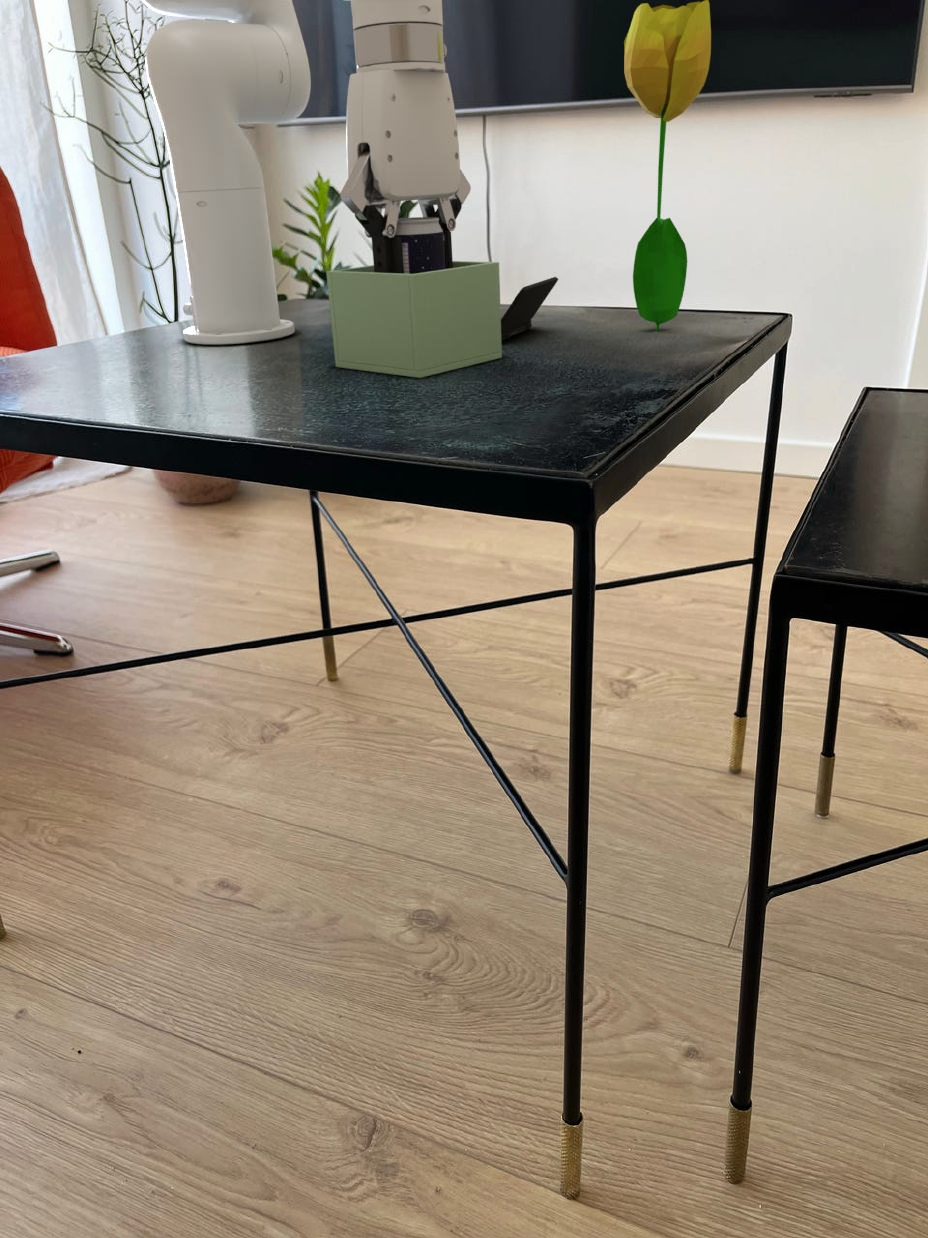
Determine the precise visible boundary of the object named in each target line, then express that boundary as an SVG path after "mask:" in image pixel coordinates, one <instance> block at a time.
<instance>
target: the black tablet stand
mask: <svg viewBox="0 0 928 1238" xmlns="http://www.w3.org/2000/svg"><path fill="white" fill-rule="evenodd" d="M558 281H559V278H558V277H557V276H553V277H550V278H546V279H544V280H541V281H538V282H534V283H532V284H529V285H526V286H524V287H522V288H521V289H520V290H519V292H518V293H517V294H516V296H515V297H514V299H513V301H512V303H510V306H509V307H508V308H507V310H506V312H505V313H504V314H503V316H502V317H501V342H503V341H505V340H508V339H510V338H511V337H512V336H514V335H519V334H522V333H523V332H525V331H528V330H530V329H531V328H532V326H533V325H532V324H533V323H532V319H533V318H534V317H535V315H536V314H537V312H538V310H539V309H540V308H541V306H542V305H543V304H544V302H545V300H546V299H547V297H548V296H549V294H550V293H551V292H552V290H553V289H554V287H555V286H556V284H557V283H558Z"/></svg>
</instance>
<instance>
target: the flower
mask: <svg viewBox="0 0 928 1238" xmlns="http://www.w3.org/2000/svg"><path fill="white" fill-rule="evenodd" d="M710 7H711V6H710V2H709V0H703V1H700V0H699V1H694V2H689V3H687V4H686V5H680V6H679V7H675V6H672V5H665V4H661V5H658V6H655V7H651V5H650V4H649V3H648V2H647V3H640V5H638V6H637V7H636V9H635V11H634V13H633V17H632V20H631V23H630V27H629V29H628V31H627V33H626V36H625V38H624V41H623V44H624V45H623V47H624V57H623V59H624V61H623V62H624V65H623V66H624V67H623V68H624V70H623V73H624V78H625V81H626V86H627V88H628V90H629V91H630V93H631V94H632V95H633V96H634V98H635V99H636V100H637V102H638V103H639V105H640V106H641V108H642V109H643V110H644V112H645V113H646V114H648V115H650V116H652V117H653V118H655V119H660V127H659V146H658V147H659V148H658V167H657V168H658V169H657V203H656V205H657V207H656V208H657V209H656V210H657V211H656V218H655V219H654V220H653V221H652V223H651V224H650V225H649V227H648V228H647V229H646V231H645V232H644V233H643V235H642V236H641V238H640V240H639V241H638V242H637V246H636V249H635V255H634V262H633V270H632V284H633V285H632V287H633V296H634V300H635V304H636V308H637V311H638V314H639V316H640V317H641V318H642V319H644V320H645V321H647V322H651V323H654V324H655V331H660V325H662V324H665V323H667V322H669V321H671V320H673V319H675V318H676V317H677V316H678V313H679V310H680V307H681V304H682V302H683V301H682V300H683V297H684V291H685V286H686V280H687V271H688V253H687V246H686V243H685V242H684V240H683V238H682V236H681V233H679V231H678V229H677V227H676V226H675V224H674V222H673V221H672V219H671V217H668V218H665V219H664V218H661V214H662V195H663V194H662V193H663V177H664V176H663V174H664V158H665V144H666V132H667V123H669V122H671V121H673V120H675V119H676V118H678V117H680V116H681V115H682V114H683V113H684V112H685V111H687V109H689V106H690V105H692V103H693V102H695V100H696V98H697V97H698V96H699V94H700V92H701V90H703V87H704V86H705V83H706V81H707V77H708V73H709V70H710V63H711V55H712V54H711V53H712V51H711V50H712V29H711V28H712V27H711V9H710Z"/></svg>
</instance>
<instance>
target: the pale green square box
mask: <svg viewBox="0 0 928 1238" xmlns="http://www.w3.org/2000/svg"><path fill="white" fill-rule="evenodd" d="M325 273H326V282H327V291H328V302H329V312H330V322H331V332H332V333H331V334H332V342H333V353H334V361H335V368H340V369H348V370H354V371H355V370H356V371H363V372H364V371H365V372H372V373H378V374H385V375H392V376H393V375H394V376H402V377H410V378H416V379H422V378H425V377H429V376H434V375H438V374H442V373H447V372H450V371H454V370H458V369H462V368H466V367H470V366H473V365H478V364H482V363H487V362H490V361H494V360H499V359H502V358H503V355H502V354H503V352H502V351H503V350H502V348H503V347H502V341H501V319H502V317H501V315H502V313H501V289H500V288H501V282H500V281H501V279H500V262H499V261H469V260H468V261H466V260H453V268H450V269H444V270H437V271H430V272H423V273H416V274H402V273H376V272H374V264H372V265H371V264H370V265H364V266H363V265H362V266H358V267H357V266H355V267H349V268H342V269H341V268H340V269H334V270H326V271H325Z"/></svg>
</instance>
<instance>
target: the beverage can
mask: <svg viewBox="0 0 928 1238" xmlns="http://www.w3.org/2000/svg"><path fill="white" fill-rule="evenodd" d="M438 221H439V218H436V217H423V216H421V217H420V216H418V217H415V216H414V217H398V222H397V228H396V233H395V236H394V237H401V241H402V252H403V266H404V274H416V273H423V272H430V271H437V270H444V269H445V247H444V232H443V231H442V229H441V227H440V225H439V222H438Z"/></svg>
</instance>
